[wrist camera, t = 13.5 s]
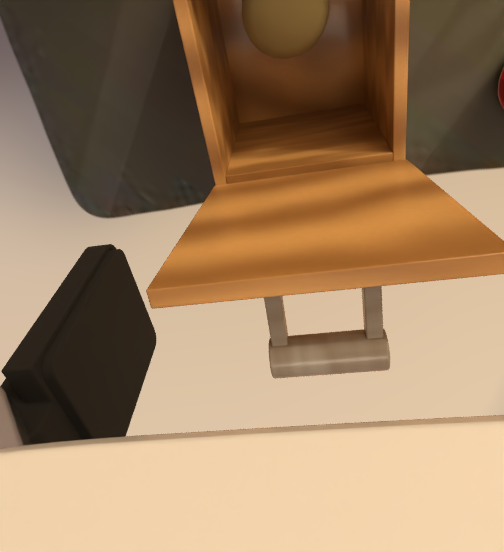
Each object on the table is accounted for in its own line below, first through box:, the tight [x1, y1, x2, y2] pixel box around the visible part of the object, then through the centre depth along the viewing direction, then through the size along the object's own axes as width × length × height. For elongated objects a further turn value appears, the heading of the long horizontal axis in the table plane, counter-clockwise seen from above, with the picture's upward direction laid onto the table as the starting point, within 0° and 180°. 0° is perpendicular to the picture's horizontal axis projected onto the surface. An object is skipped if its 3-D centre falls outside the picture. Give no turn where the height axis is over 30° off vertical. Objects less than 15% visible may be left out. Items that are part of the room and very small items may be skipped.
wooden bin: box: [173, 0, 410, 186], centre depth 31 cm, size 15×13×13 cm
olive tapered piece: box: [242, 0, 329, 59], centre depth 29 cm, size 6×6×11 cm
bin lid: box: [146, 159, 504, 378], centre depth 23 cm, size 15×13×6 cm
